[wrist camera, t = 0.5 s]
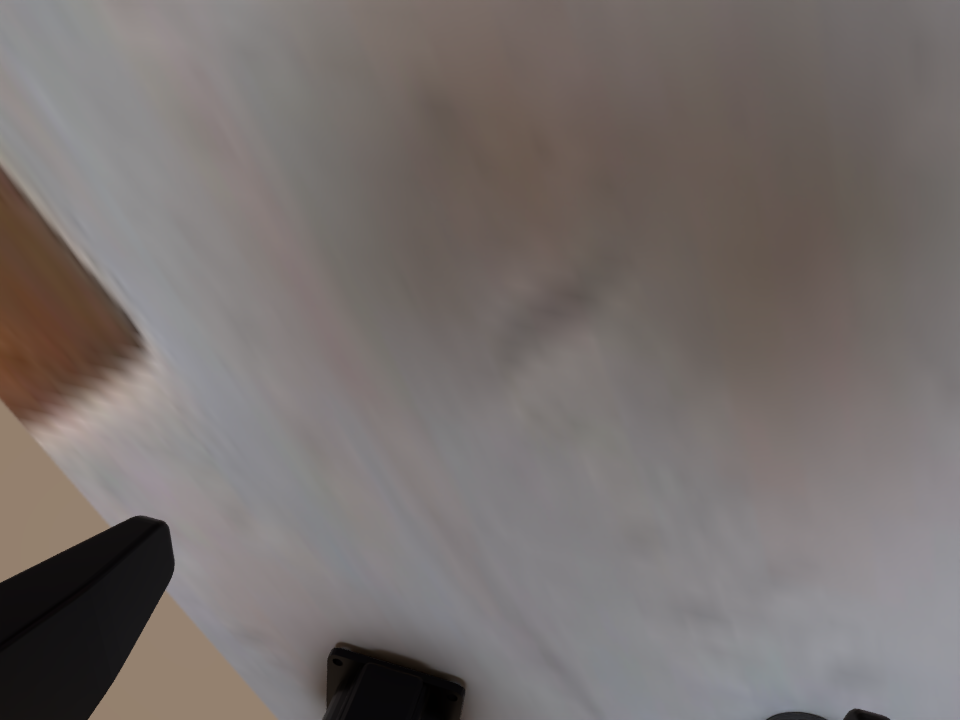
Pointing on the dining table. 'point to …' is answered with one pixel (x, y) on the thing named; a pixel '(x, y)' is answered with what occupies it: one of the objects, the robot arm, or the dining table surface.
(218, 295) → the dining table surface
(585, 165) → the dining table surface
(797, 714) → the spacers
